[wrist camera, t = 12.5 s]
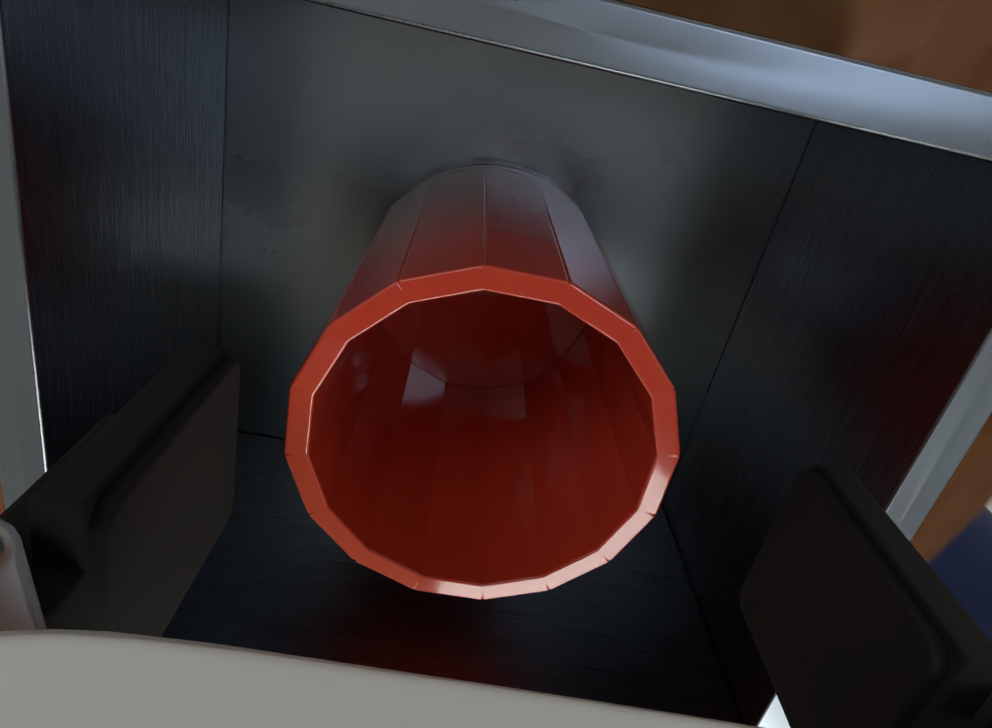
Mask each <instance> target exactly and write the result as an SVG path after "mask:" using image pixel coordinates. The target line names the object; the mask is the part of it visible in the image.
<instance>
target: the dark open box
mask: <svg viewBox="0 0 992 728" xmlns="http://www.w3.org/2000/svg"><path fill="white" fill-rule="evenodd" d="M472 165H497V166H504V167H511V168H514V169H518V170H521V171H525V172H528V173H530V174H532V175H535V176H537V177H539V178H541V179H543V180H545V181H547V182H548V183H550V184H551V185H553V186H555V187H556V188H558V189H559V190H560V191H561V192H562V193H564V194H565V195H566V196H567V197H569V198H570V200H571V201H572V202H573V203H574V204H575V205H576V206H578V208H579V209H580V210H581V211H582V213H583V215H584V216H585V218H586V219H587V221H588V222H589V224H590V226H591V228H592V230H593V232H594V233H595V235H596V237H597V238H598V240H599V242H600V243H601V245H602V247H603V249H604V250H605V252H606V254H607V256H608V258H609V260H610V262H611V264H612V266H613V268H614V270H615V272H616V274H617V276H618V278H619V280H620V282H621V284H622V286H623V288H624V289H625V291H626V293H627V295H628V297H629V299H630V301H631V303H632V305H633V307H634V309H635V311H636V313H637V315H638V317H639V319H640V321H641V323H642V325H643V327H644V329H645V330H646V332H647V334H648V336H649V338H650V340H651V342H652V344H653V346H654V348H655V350H656V352H657V354H658V356H659V358H660V360H661V362H662V364H663V366H664V368H665V370H666V371H667V373H668V375H669V377H670V379H671V381H672V383H673V385H674V389H675V391H676V403H677V416H678V430H679V443H680V455H679V460H678V462H677V464H676V467H675V469H674V472H673V474H672V477H671V479H670V482H669V484H668V487H667V489H666V492H665V494H664V497H663V499H662V502H661V504H660V507H659V509H658V512H657V514H655V517H654V518H653V519H652V520H651V521H650V522H649V523H648V524H647V525H646V526H645V527H644V528H643V529H642V530H641V531H640V532H639V533H638V534H637V535H636V536H635V537H634V538H633V539H632V540H631V541H630V542H629V543H628V544H627V545H626V546H625V547H624V548H623V549H622V550H621V551H620V552H619V553H618V554H617V555H616V556H615V557H614V558H613V559H612V560H610V561H609V562H608V563H606V564H604V565H602V566H600V567H598V568H596V569H593V570H591V571H589V572H587V573H585V574H583V575H581V576H579V577H577V578H575V579H573V580H570V581H568V582H566V583H564V584H562V585H560V586H558V587H556V588H554V589H551V590H550V589H549V590H548V591H543V592H536V593H529V594H522V595H515V596H508V597H501V598H494V599H487V600H483V599H481V600H477V599H471V598H464V597H457V596H450V595H444V594H437V593H430V592H424V591H417V590H416V589H411V588H409V587H407V586H405V585H403V584H401V583H399V582H397V581H395V580H392V579H390V578H388V577H386V576H384V575H382V574H380V573H378V572H376V571H374V570H372V569H370V568H368V567H366V566H364V565H361V564H359V563H357V562H356V561H355V560H353V559H352V558H351V557H350V556H349V555H348V554H347V553H346V552H345V551H344V550H343V549H342V548H341V547H340V546H339V545H338V544H337V543H336V542H335V541H334V540H333V539H332V538H331V537H330V536H329V535H328V534H327V533H326V532H325V531H324V530H323V529H322V528H321V527H320V526H319V525H318V524H317V523H316V522H315V521H314V520H313V519H312V518H311V517H310V515H309V513H308V512H307V511H306V508H305V505H304V503H303V500H302V498H301V495H300V493H299V490H298V488H297V485H296V483H295V480H294V478H293V475H292V472H291V470H290V467H289V465H288V462H287V460H286V457H285V452H284V445H285V433H286V422H287V410H288V398H289V388H290V386H291V383H292V381H293V379H294V377H295V375H296V373H297V372H298V370H299V368H300V366H301V364H302V362H303V361H304V359H305V357H306V355H307V353H308V352H309V350H310V348H311V346H312V344H313V342H314V341H315V339H316V337H317V335H318V333H319V331H320V330H321V328H322V326H323V324H324V322H325V321H326V319H327V317H328V315H329V313H330V311H331V310H332V308H333V306H334V304H335V302H336V300H337V299H338V297H339V295H340V293H341V291H342V289H343V288H344V286H345V284H346V282H347V280H348V279H349V277H350V275H351V273H352V271H353V269H354V268H355V266H356V264H357V262H358V260H359V258H360V257H361V255H362V253H363V251H364V249H365V248H366V246H367V244H368V242H369V241H370V239H371V238H372V236H373V234H374V233H375V231H376V229H377V228H378V226H379V224H380V223H381V221H382V219H383V218H384V216H385V215H386V213H387V212H388V210H389V208H390V207H391V206H392V205H393V204H394V203H396V202H397V201H398V200H399V199H400V198H401V196H403V195H404V194H405V193H406V192H408V191H409V190H410V189H411V188H413V187H414V186H415V185H417V184H419V183H421V182H422V181H424V180H426V179H427V178H429V177H431V176H434V175H436V174H439V173H441V172H444V171H447V170H451V169H454V168H458V167H464V166H472ZM189 344H191V345H197V346H202V347H207V348H213V349H218V350H223V351H227V352H228V354H229V357H230V361H233V362H238V363H239V365H240V388H239V407H238V426H237V445H236V463H235V482H234V499H233V505H232V510H231V513H230V516H229V518H228V521H227V523H226V524H225V526H224V528H223V530H222V531H221V533H220V535H219V537H218V538H217V540H216V542H215V544H214V545H213V547H212V549H211V551H210V552H209V554H208V556H207V558H206V559H205V561H204V563H203V565H202V566H201V568H200V570H199V572H198V573H197V575H196V577H195V579H194V580H193V582H192V584H191V586H190V587H189V589H188V591H187V593H186V594H185V596H184V598H183V600H182V601H181V603H180V605H179V607H178V608H177V610H176V612H175V614H174V615H173V617H172V619H171V621H170V622H169V624H168V626H167V628H166V629H165V631H164V633H163V635H162V636H161V637H163V638H172V639H181V640H189V641H198V642H207V643H215V644H222V645H228V646H235V647H242V648H249V649H255V650H262V651H269V652H275V653H282V654H289V655H295V656H302V657H309V658H316V659H322V660H329V661H336V662H342V663H349V664H356V665H362V666H369V667H376V668H383V669H389V670H396V671H403V672H409V673H416V674H423V675H429V676H436V677H443V678H450V679H456V680H463V681H470V682H476V683H483V684H490V685H496V686H503V687H509V688H515V689H522V690H528V691H535V692H541V693H548V694H554V695H561V696H567V697H574V698H580V699H587V700H593V701H600V702H606V703H612V704H619V705H625V706H632V707H638V708H644V709H651V710H657V711H664V712H670V713H676V714H683V715H689V716H696V717H702V718H708V719H714V720H721V721H727V722H733V723H739V724H745V725H752V726H758V727H764V728H790V726H789V723H788V721H787V718H786V716H785V714H784V711H783V709H782V706H781V704H780V702H779V699H778V697H777V695H776V692H775V690H774V687H773V685H772V683H771V680H770V678H769V675H768V673H767V671H766V668H765V666H764V663H763V661H762V659H761V656H760V654H759V652H758V649H757V647H756V644H755V642H754V640H753V637H752V635H751V632H750V630H749V628H748V625H747V623H746V620H745V618H744V616H743V613H742V611H741V608H740V602H739V595H740V590H741V587H742V584H743V582H744V580H745V578H746V576H747V574H748V572H749V570H750V568H751V566H752V564H753V562H754V560H755V558H756V556H757V554H758V552H759V550H760V548H761V546H762V544H763V542H764V540H765V538H766V536H767V534H768V531H769V529H770V527H771V525H772V523H773V521H774V519H775V517H776V515H777V513H778V511H779V509H780V507H781V505H782V503H783V501H784V499H785V497H786V495H787V493H788V491H789V489H790V487H791V485H792V483H793V481H794V479H795V477H796V475H797V474H798V473H799V472H800V471H802V470H807V469H808V468H809V467H810V466H811V465H814V464H820V465H826V466H831V467H836V468H841V469H846V470H851V471H852V472H853V473H854V474H855V475H856V476H857V477H858V479H859V480H860V481H861V482H862V484H863V485H864V486H865V487H866V488H867V490H868V491H869V492H870V493H871V495H872V496H873V497H874V498H875V500H876V501H877V502H878V503H879V505H880V506H881V507H882V508H883V509H884V511H885V512H886V513H887V514H888V516H889V517H890V518H891V519H892V521H893V522H894V523H895V524H896V525H897V527H898V528H899V529H900V530H901V532H902V533H903V534H904V535H905V537H906V538H907V539H908V540H909V541H911V540H912V538H913V536H914V535H915V533H916V532H917V530H918V529H919V527H920V525H921V524H922V522H923V521H924V519H925V517H926V516H927V514H928V513H929V511H930V510H931V508H932V506H933V505H934V503H935V502H936V500H937V498H938V497H939V495H940V494H941V492H942V490H943V489H944V487H945V486H946V484H947V483H948V481H949V479H950V478H951V476H952V475H953V473H954V471H955V470H956V468H957V467H958V465H959V464H960V462H961V460H962V459H963V457H964V456H965V454H966V452H967V451H968V449H969V448H970V446H971V445H972V443H973V441H974V440H975V438H976V437H977V435H978V433H979V432H980V430H981V429H982V427H983V425H984V424H985V422H986V421H987V419H988V418H989V416H990V414H991V413H992V93H991V92H987V91H983V90H979V89H975V88H971V87H967V86H963V85H959V84H955V83H951V82H947V81H943V80H939V79H935V78H931V77H927V76H923V75H919V74H914V73H910V72H906V71H902V70H898V69H894V68H890V67H886V66H882V65H878V64H874V63H870V62H866V61H862V60H858V59H854V58H850V57H846V56H842V55H838V54H834V53H829V52H825V51H821V50H817V49H813V48H809V47H805V46H801V45H797V44H793V43H789V42H785V41H781V40H777V39H773V38H769V37H765V36H761V35H757V34H753V33H749V32H744V31H740V30H736V29H732V28H728V27H724V26H720V25H716V24H712V23H708V22H704V21H700V20H696V19H692V18H688V17H684V16H680V15H676V14H672V13H668V12H664V11H659V10H655V9H651V8H647V7H643V6H639V5H635V4H631V3H627V2H623V1H619V0H0V481H1V488H2V495H3V502H4V509H5V510H6V509H7V508H8V507H9V506H10V505H12V504H13V503H14V502H15V501H16V500H17V499H18V498H19V497H20V496H21V495H22V494H23V493H24V492H25V491H26V490H27V489H28V488H29V487H31V486H32V485H33V484H34V483H35V482H36V481H37V480H38V479H39V478H40V477H41V476H42V475H43V474H44V473H45V472H46V471H47V470H48V469H50V468H51V467H52V466H53V465H54V464H55V463H56V462H57V461H58V460H59V459H60V458H61V457H62V456H63V455H64V454H65V453H66V452H68V451H69V450H70V449H71V448H72V447H73V446H74V445H75V444H76V443H77V442H78V441H79V440H80V439H81V438H82V437H83V436H84V435H85V434H87V433H88V432H89V431H90V430H91V429H92V428H93V427H94V426H95V425H96V424H97V423H98V422H99V421H100V420H102V419H103V418H104V417H106V416H107V415H112V414H117V413H118V412H119V411H120V410H121V409H122V408H123V407H124V406H125V405H126V404H127V403H128V402H129V401H130V400H131V399H132V398H133V397H134V396H135V395H136V394H137V393H138V392H139V391H141V390H142V389H143V388H144V387H145V386H146V385H147V384H148V383H149V382H150V381H151V380H152V379H153V378H154V377H155V376H156V375H157V374H158V373H159V372H160V371H161V370H162V369H163V368H164V367H165V366H166V365H167V364H168V363H169V362H170V361H171V360H173V359H174V358H175V357H176V356H177V355H178V354H179V353H180V352H181V351H182V350H183V349H184V348H185V347H186V346H188V345H189Z"/></svg>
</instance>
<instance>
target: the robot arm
mask: <svg viewBox="0 0 992 728" xmlns="http://www.w3.org/2000/svg"><path fill="white" fill-rule="evenodd" d="M239 388H240V365H239V363H238V362H233V361H230V357H229V354H228V352H227V351H223V350H218V349H213V348H207V347H202V346H197V345H191V344H189V345H188V346H186V347H185V348H184V349H183V350H182V351H181V352H180V353H179V354H178V355H177V356H176V357H175V358H174V359H173V360H171V361H170V362H169V363H168V364H167V365H166V366H165V367H164V368H163V369H162V370H161V371H160V372H159V373H158V374H157V375H156V376H155V377H154V378H153V379H152V380H151V381H150V382H149V383H148V384H147V385H146V386H145V387H144V388H143V389H142V390H141V391H139V392H138V393H137V394H136V395H135V396H134V397H133V398H132V399H131V400H130V401H129V402H128V403H127V404H126V405H125V406H124V407H123V408H122V409H121V410H120V411H119V412H118V413H117V414H112V415H107V416H106V417H104V418H103V419H102V420H100V421H99V422H98V423H97V424H96V425H95V426H94V427H93V428H92V429H91V430H90V431H89V432H88V433H87V434H85V435H84V436H83V437H82V438H81V439H80V440H79V441H78V442H77V443H76V444H75V445H74V446H73V447H72V448H71V449H70V450H69V451H68V452H66V453H65V454H64V455H63V456H62V457H61V458H60V459H59V460H58V461H57V462H56V463H55V464H54V465H53V466H52V467H51V468H50V469H48V470H47V471H46V472H45V473H44V474H43V475H42V476H41V477H40V478H39V479H38V480H37V481H36V482H35V483H34V484H33V485H32V486H31V487H29V488H28V489H27V490H26V491H25V492H24V493H23V494H22V495H21V496H20V497H19V498H18V499H17V500H16V501H15V502H14V503H13V504H12V505H10V506H9V507H8V508H7V509H6V510H5V511H4V512H3V513H2V514H1V515H0V728H764V727H758V726H752V725H745V724H739V723H733V722H727V721H721V720H714V719H708V718H702V717H696V716H689V715H683V714H676V713H670V712H664V711H657V710H651V709H644V708H638V707H632V706H625V705H619V704H612V703H606V702H600V701H593V700H587V699H580V698H574V697H567V696H561V695H554V694H548V693H541V692H535V691H528V690H522V689H515V688H509V687H503V686H496V685H490V684H483V683H476V682H470V681H463V680H456V679H450V678H443V677H436V676H429V675H423V674H416V673H409V672H403V671H396V670H389V669H383V668H376V667H369V666H362V665H356V664H349V663H342V662H336V661H329V660H322V659H316V658H309V657H302V656H295V655H289V654H282V653H275V652H269V651H262V650H255V649H249V648H242V647H235V646H228V645H222V644H215V643H207V642H198V641H189V640H181V639H172V638H163V637H161V636H162V635H163V633H164V631H165V629H166V628H167V626H168V624H169V622H170V621H171V619H172V617H173V615H174V614H175V612H176V610H177V608H178V607H179V605H180V603H181V601H182V600H183V598H184V596H185V594H186V593H187V591H188V589H189V587H190V586H191V584H192V582H193V580H194V579H195V577H196V575H197V573H198V572H199V570H200V568H201V566H202V565H203V563H204V561H205V559H206V558H207V556H208V554H209V552H210V551H211V549H212V547H213V545H214V544H215V542H216V540H217V538H218V537H219V535H220V533H221V531H222V530H223V528H224V526H225V524H226V523H227V521H228V518H229V516H230V513H231V510H232V505H233V499H234V482H235V463H236V445H237V426H238V407H239ZM739 602H740V608H741V611H742V613H743V616H744V618H745V620H746V623H747V625H748V628H749V630H750V632H751V635H752V637H753V640H754V642H755V644H756V647H757V649H758V652H759V654H760V656H761V659H762V661H763V663H764V666H765V668H766V671H767V673H768V675H769V678H770V680H771V683H772V685H773V687H774V690H775V692H776V695H777V697H778V699H779V702H780V704H781V706H782V709H783V711H784V714H785V716H786V718H787V721H788V723H789V726H790V728H992V643H991V641H990V640H989V639H988V638H987V636H986V635H985V634H984V633H983V631H982V630H981V629H980V628H979V627H978V625H977V624H976V623H975V622H974V620H973V619H972V618H971V617H970V615H969V614H968V613H967V612H966V611H965V609H964V608H963V607H962V606H961V604H960V603H959V602H958V601H957V599H956V598H955V597H954V596H953V594H952V593H951V592H950V591H949V590H948V588H947V587H946V586H945V585H944V583H943V582H942V581H941V580H940V578H939V577H938V576H937V575H936V574H935V572H934V571H933V570H932V569H931V567H930V566H929V565H928V564H927V562H926V561H925V560H924V559H923V558H922V556H921V555H920V554H919V553H918V551H917V550H916V549H915V548H914V546H913V545H912V544H911V543H910V541H909V540H908V539H907V538H906V537H905V535H904V534H903V533H902V532H901V530H900V529H899V528H898V527H897V525H896V524H895V523H894V522H893V521H892V519H891V518H890V517H889V516H888V514H887V513H886V512H885V511H884V509H883V508H882V507H881V506H880V505H879V503H878V502H877V501H876V500H875V498H874V497H873V496H872V495H871V493H870V492H869V491H868V490H867V488H866V487H865V486H864V485H863V484H862V482H861V481H860V480H859V479H858V477H857V476H856V475H855V474H854V473H853V472H852V471H851V470H846V469H841V468H836V467H831V466H826V465H820V464H814V465H811V466H810V467H809V468H808V469H807V470H802V471H800V472H799V473H798V474H797V475H796V477H795V479H794V481H793V483H792V485H791V487H790V489H789V491H788V493H787V495H786V497H785V499H784V501H783V503H782V505H781V507H780V509H779V511H778V513H777V515H776V517H775V519H774V521H773V523H772V525H771V527H770V529H769V531H768V534H767V536H766V538H765V540H764V542H763V544H762V546H761V548H760V550H759V552H758V554H757V556H756V558H755V560H754V562H753V564H752V566H751V568H750V570H749V572H748V574H747V576H746V578H745V580H744V582H743V584H742V587H741V590H740V595H739Z"/></svg>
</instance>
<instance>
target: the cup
mask: <svg viewBox="0 0 992 728" xmlns="http://www.w3.org/2000/svg"><path fill="white" fill-rule="evenodd" d="M284 452H285V457H286V460H287V462H288V465H289V467H290V470H291V472H292V475H293V478H294V480H295V483H296V485H297V488H298V490H299V493H300V495H301V498H302V500H303V503H304V505H305V508H306V511H307V512H308V513H309V515H310V517H311V518H312V519H313V520H314V521H315V522H316V523H317V524H318V525H319V526H320V527H321V528H322V529H323V530H324V531H325V532H326V533H327V534H328V535H329V536H330V537H331V538H332V539H333V540H334V541H335V542H336V543H337V544H338V545H339V546H340V547H341V548H342V549H343V550H344V551H345V552H346V553H347V554H348V555H349V556H350V557H351V558H352V559H353V560H355V561H356V562H357V563H359V564H361V565H364V566H366V567H368V568H370V569H372V570H374V571H376V572H378V573H380V574H382V575H384V576H386V577H388V578H390V579H392V580H395V581H397V582H399V583H401V584H403V585H405V586H407V587H409V588H411V589H416V590H417V591H424V592H430V593H437V594H444V595H450V596H457V597H464V598H471V599H477V600H481V599H483V600H487V599H494V598H501V597H508V596H515V595H522V594H529V593H536V592H543V591H548V590H549V589H550V590H551V589H554V588H556V587H558V586H560V585H562V584H564V583H566V582H568V581H570V580H573V579H575V578H577V577H579V576H581V575H583V574H585V573H587V572H589V571H591V570H593V569H596V568H598V567H600V566H602V565H604V564H606V563H608V562H609V561H610V560H612V559H613V558H614V557H615V556H616V555H617V554H618V553H619V552H620V551H621V550H622V549H623V548H624V547H625V546H626V545H627V544H628V543H629V542H630V541H631V540H632V539H633V538H634V537H635V536H636V535H637V534H638V533H639V532H640V531H641V530H642V529H643V528H644V527H645V526H646V525H647V524H648V523H649V522H650V521H651V520H652V519H653V518H654V517H655V514H657V512H658V509H659V507H660V504H661V502H662V499H663V497H664V494H665V492H666V489H667V487H668V484H669V482H670V479H671V477H672V474H673V472H674V469H675V467H676V464H677V462H678V460H679V455H680V443H679V430H678V416H677V403H676V391H675V389H674V385H673V383H672V381H671V379H670V377H669V375H668V373H667V371H666V370H665V368H664V366H663V364H662V362H661V360H660V358H659V356H658V354H657V352H656V350H655V348H654V346H653V344H652V342H651V340H650V338H649V336H648V334H647V332H646V330H645V329H644V327H643V325H642V323H641V321H640V319H639V317H638V315H637V313H636V311H635V309H634V307H633V305H632V303H631V301H630V299H629V297H628V295H627V293H626V291H625V289H624V288H623V286H622V284H621V282H620V280H619V278H618V276H617V274H616V272H615V270H614V268H613V266H612V264H611V262H610V260H609V258H608V256H607V254H606V252H605V250H604V249H603V247H602V245H601V243H600V242H599V240H598V238H597V237H596V235H595V233H594V232H593V230H592V228H591V226H590V224H589V222H588V221H587V219H586V218H585V216H584V215H583V213H582V211H581V210H580V209H579V208H578V206H576V205H575V204H574V203H573V202H572V201H571V200H570V198H569V197H567V196H566V195H565V194H564V193H562V192H561V191H560V190H559V189H558V188H556V187H555V186H553V185H551V184H550V183H548V182H547V181H545V180H543V179H541V178H539V177H537V176H535V175H532V174H530V173H528V172H525V171H521V170H518V169H514V168H511V167H504V166H497V165H472V166H464V167H458V168H454V169H451V170H447V171H444V172H441V173H439V174H436V175H434V176H431V177H429V178H427V179H426V180H424V181H422V182H421V183H419V184H417V185H415V186H414V187H413V188H411V189H410V190H409V191H408V192H406V193H405V194H404V195H403V196H401V198H400V199H399V200H398V201H397V202H396V203H394V204H393V205H392V206H391V207H390V208H389V210H388V212H387V213H386V215H385V216H384V218H383V219H382V221H381V223H380V224H379V226H378V228H377V229H376V231H375V233H374V234H373V236H372V238H371V239H370V241H369V242H368V244H367V246H366V248H365V249H364V251H363V253H362V255H361V257H360V258H359V260H358V262H357V264H356V266H355V268H354V269H353V271H352V273H351V275H350V277H349V279H348V280H347V282H346V284H345V286H344V288H343V289H342V291H341V293H340V295H339V297H338V299H337V300H336V302H335V304H334V306H333V308H332V310H331V311H330V313H329V315H328V317H327V319H326V321H325V322H324V324H323V326H322V328H321V330H320V331H319V333H318V335H317V337H316V339H315V341H314V342H313V344H312V346H311V348H310V350H309V352H308V353H307V355H306V357H305V359H304V361H303V362H302V364H301V366H300V368H299V370H298V372H297V373H296V375H295V377H294V379H293V381H292V383H291V386H290V388H289V398H288V410H287V422H286V433H285V445H284Z"/></svg>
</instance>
